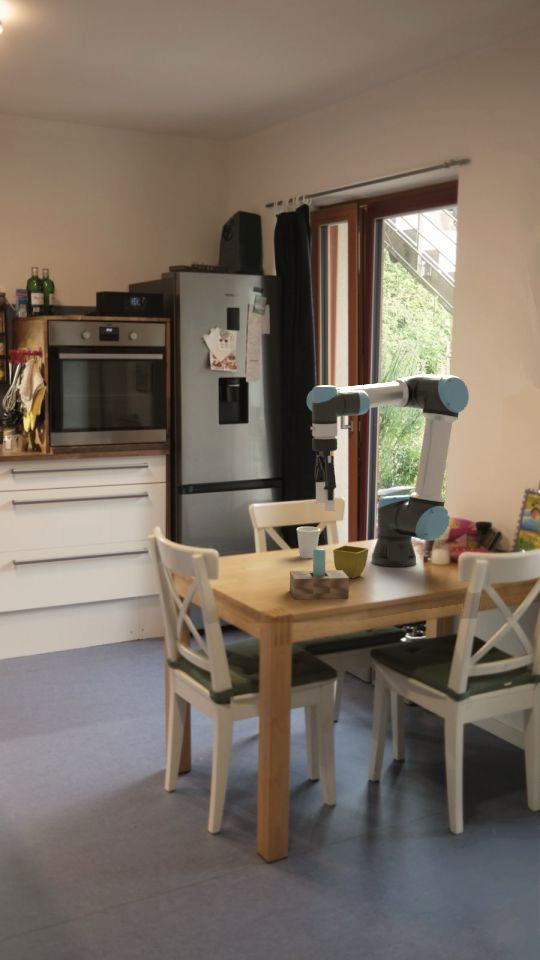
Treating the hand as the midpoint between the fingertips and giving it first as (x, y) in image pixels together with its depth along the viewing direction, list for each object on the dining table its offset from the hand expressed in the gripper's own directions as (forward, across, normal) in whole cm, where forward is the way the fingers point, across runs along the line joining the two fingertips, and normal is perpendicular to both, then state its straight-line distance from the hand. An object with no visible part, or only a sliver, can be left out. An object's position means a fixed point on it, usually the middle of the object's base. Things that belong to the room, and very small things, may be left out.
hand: (325, 506), depth 297 cm
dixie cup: (+26, -42, +2) cm, 49 cm away
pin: (+23, +10, -4) cm, 25 cm away
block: (+24, +10, -4) cm, 27 cm away
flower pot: (+25, -12, +11) cm, 30 cm away
